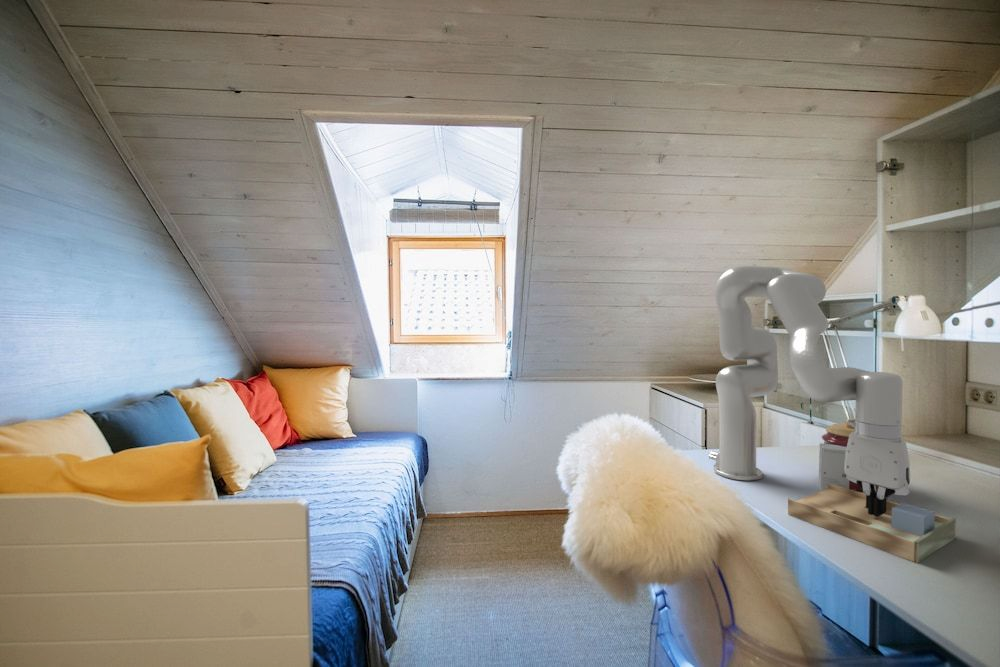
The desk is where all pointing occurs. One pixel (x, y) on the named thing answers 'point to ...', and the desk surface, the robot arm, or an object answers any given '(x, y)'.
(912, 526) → the block
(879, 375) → the robot arm
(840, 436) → the canister
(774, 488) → the desk surface
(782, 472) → the desk surface
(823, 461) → the skincare box
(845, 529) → the box
